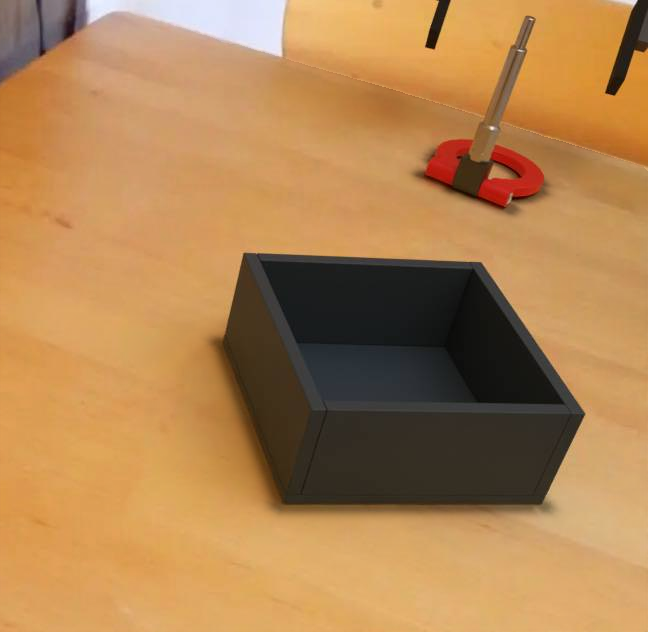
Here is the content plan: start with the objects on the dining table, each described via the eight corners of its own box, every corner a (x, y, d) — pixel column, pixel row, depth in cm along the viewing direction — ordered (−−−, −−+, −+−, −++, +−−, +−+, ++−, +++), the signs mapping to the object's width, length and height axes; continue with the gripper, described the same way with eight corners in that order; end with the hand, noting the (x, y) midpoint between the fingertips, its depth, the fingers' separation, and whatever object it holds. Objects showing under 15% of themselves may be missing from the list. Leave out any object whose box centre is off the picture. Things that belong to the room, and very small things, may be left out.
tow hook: (455, 143, 102) (411, 173, 96) (514, -22, 94) (470, -1, 87) (552, 181, 99) (513, 216, 93) (622, 15, 91) (585, 39, 84)
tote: (448, 348, 78) (481, 261, 74) (542, 504, 67) (586, 413, 63) (222, 342, 75) (243, 251, 71) (283, 504, 65) (311, 409, 60)
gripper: (760, -135, 95) (676, 127, 94) (438, -207, 99) (354, 44, 98) (802, -201, 88) (711, 83, 87) (451, -276, 92) (361, -5, 91)
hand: (522, 63), depth 93 cm, fingers open, 13 cm apart
